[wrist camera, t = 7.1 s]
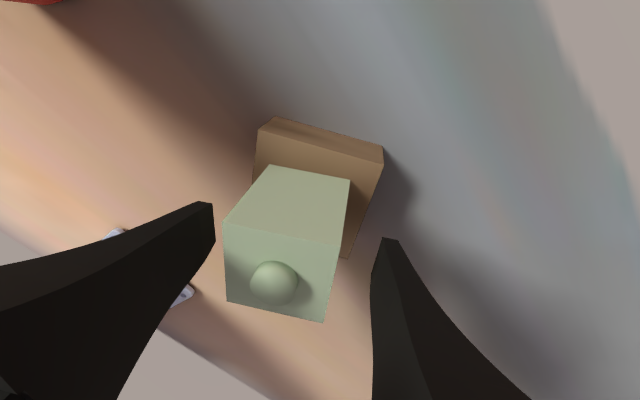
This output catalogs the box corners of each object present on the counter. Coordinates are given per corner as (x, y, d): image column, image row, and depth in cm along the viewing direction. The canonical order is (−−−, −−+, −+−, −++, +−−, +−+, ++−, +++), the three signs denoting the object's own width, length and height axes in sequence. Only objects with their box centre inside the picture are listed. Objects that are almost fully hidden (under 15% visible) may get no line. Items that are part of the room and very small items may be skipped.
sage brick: (336, 243, 15) (320, 337, 10) (266, 229, 15) (219, 313, 11) (350, 179, 13) (338, 259, 8) (269, 164, 13) (212, 232, 9)
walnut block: (350, 228, 18) (347, 259, 16) (264, 203, 18) (246, 229, 16) (381, 144, 15) (384, 165, 12) (277, 114, 15) (258, 129, 13)
